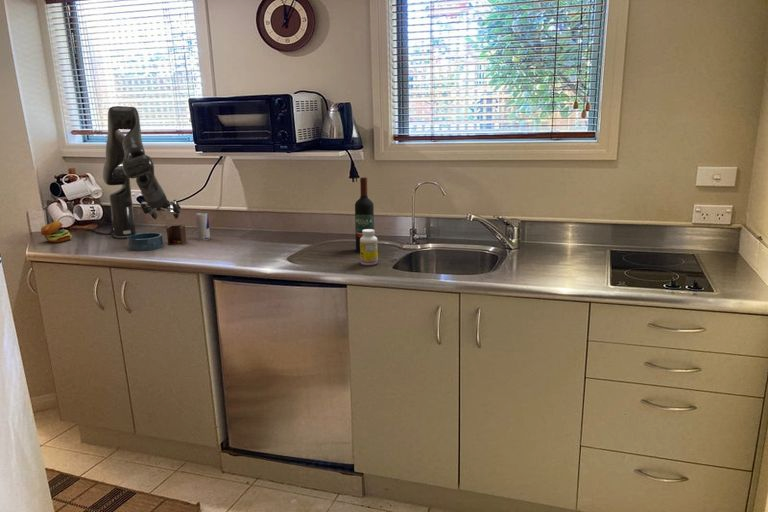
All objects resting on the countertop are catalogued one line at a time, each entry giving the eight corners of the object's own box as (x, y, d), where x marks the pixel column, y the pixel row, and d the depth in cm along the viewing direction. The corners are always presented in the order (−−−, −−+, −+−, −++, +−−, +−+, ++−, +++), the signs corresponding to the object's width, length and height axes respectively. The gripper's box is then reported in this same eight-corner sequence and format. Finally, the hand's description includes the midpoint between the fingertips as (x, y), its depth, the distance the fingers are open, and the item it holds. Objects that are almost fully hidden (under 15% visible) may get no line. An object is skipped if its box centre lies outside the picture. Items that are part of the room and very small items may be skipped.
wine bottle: (376, 249, 238) (375, 176, 230) (370, 253, 231) (369, 179, 223) (359, 247, 240) (358, 176, 233) (353, 251, 233) (351, 178, 226)
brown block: (182, 245, 247) (180, 227, 245) (168, 246, 247) (166, 227, 245) (186, 242, 253) (184, 224, 251) (172, 242, 252) (170, 225, 250)
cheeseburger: (74, 240, 257) (64, 220, 253) (48, 249, 252) (39, 229, 248) (71, 236, 265) (62, 216, 262) (46, 245, 260) (37, 224, 257)
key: (182, 243, 249) (182, 240, 249) (172, 243, 249) (171, 240, 249) (183, 241, 252) (183, 239, 251) (173, 242, 251) (173, 239, 251)
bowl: (122, 249, 241) (120, 237, 239) (150, 243, 252) (148, 231, 250) (141, 253, 233) (140, 240, 232) (170, 247, 244) (168, 234, 243)
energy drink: (212, 238, 260) (209, 212, 257) (207, 241, 255) (205, 214, 252) (200, 238, 261) (198, 212, 258) (195, 241, 255) (193, 214, 252)
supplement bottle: (359, 261, 219) (359, 228, 216) (377, 260, 219) (376, 228, 216) (360, 266, 212) (360, 232, 209) (378, 265, 213) (378, 231, 210)
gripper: (173, 185, 224) (185, 209, 238) (136, 186, 224) (150, 210, 238) (170, 201, 220) (182, 224, 234) (133, 201, 220) (147, 225, 234)
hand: (166, 217), depth 236 cm, fingers open, 8 cm apart
